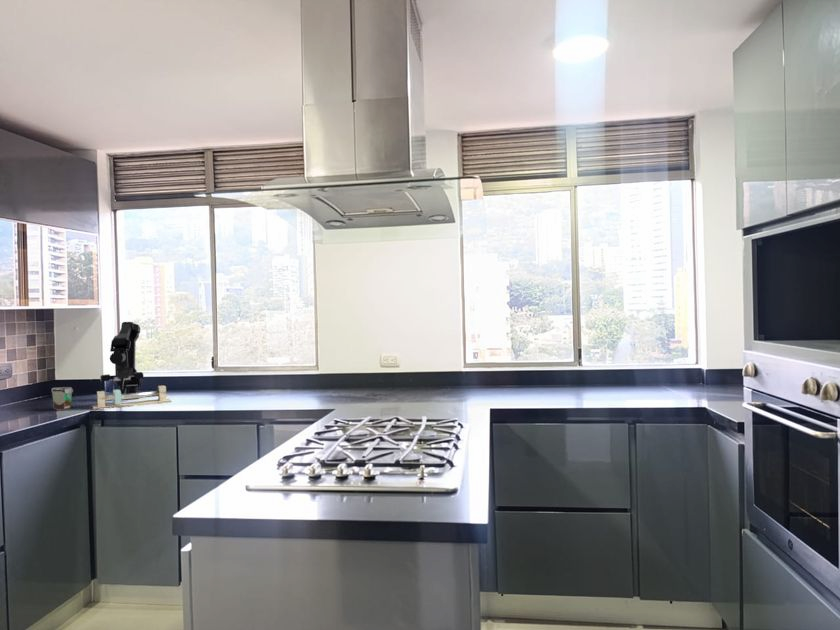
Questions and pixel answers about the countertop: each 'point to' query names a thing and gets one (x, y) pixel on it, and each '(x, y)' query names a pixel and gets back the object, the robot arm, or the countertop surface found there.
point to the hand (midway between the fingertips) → (122, 394)
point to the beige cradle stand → (160, 399)
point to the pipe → (133, 395)
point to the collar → (117, 396)
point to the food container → (62, 398)
